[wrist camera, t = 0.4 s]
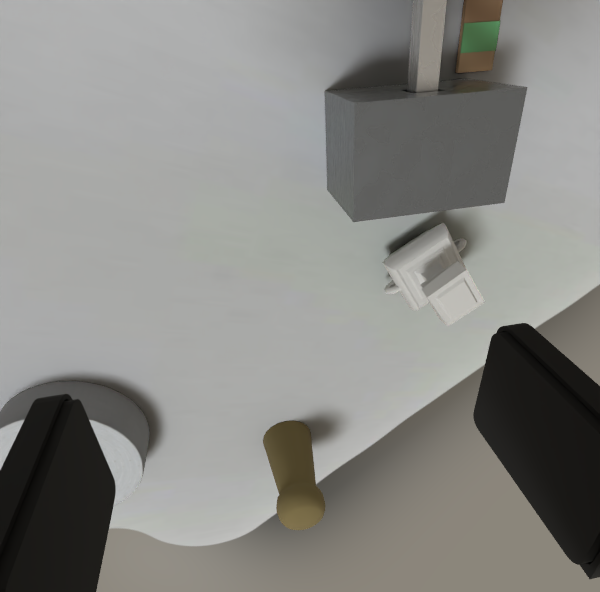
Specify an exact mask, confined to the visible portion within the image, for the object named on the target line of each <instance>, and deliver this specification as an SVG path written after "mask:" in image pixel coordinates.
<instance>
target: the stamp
mask: <svg viewBox="0 0 600 592" xmlns="http://www.w3.org/2000/svg"><path fill="white" fill-rule="evenodd" d="M466 243H467V241H466V240H465V239H463V238H461V239H457V240H455V241H453V240H452V237H451V235H450V233H449V231H448V229H447V227H446V225H445V224H444V223H441V224H439V225H437V226H435V227H434V228H432V229H430V230H427V231H425V232H424V233H422V234H421V235H419V236H418V237H416V238H415V239H413V240H411V241H410V242H408V243H407V244H405V245H404V246H402V247H401V248H399V249H398V250H396V251H395V252H393V253H392V254H390V255H389V257H387V258H386V259H385V260H384V261H383V262H382V263H383V264H384V266H385V268H386V269H387V271H388V273H389V274H390V276H391V277H392V279H393V280H392V281H391V282H390V283H389V284H388V285H387V286H386V287H385V292H386V293H387V294H394V293H396V292H399V291H400V292H401V294H402V296H403V297H404V299H405V300H406V302H407V304H408V305H409V307H410V308H411V309H412V310H414V311H417V310H418V309H420V308H422V307H423V306H425V305H426V304H428V303H430V304H431V306H432V308H433V309H434V311H435V312H436V314H437V316H438V317H439V319H440V320H441V321H442V322H443V323H444V324H446V325H447V326H449V325H451V324H452V323H454V322H456V321H457V320H459V319H460V318H462V317H463V316H465V315H466V314H468V313H469V312H471V311H473V310H474V309H476V308H477V307H479V306H480V305H482V304H483V303H485V301H484V299H483V297H482V295H481V294H480V292H479V290H478V288H477V286H476V285H475V283H474V281H473V279H472V277H471V276H470V274H469V272H468V270H467V269H466V267H465V265H464V263H463V261H462V259H461V257H460V254H459V253H460V252H461V250H463V249H464V248H465V246H466ZM395 285H396V286H395Z"/></svg>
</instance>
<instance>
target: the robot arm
mask: <svg viewBox="0 0 600 592" xmlns="http://www.w3.org/2000/svg"><path fill="white" fill-rule="evenodd" d="M474 421H475V424H476V426H477V428H478V430H479V431H480V433H481V434H482V435H483V437H484V438H485V440H486V441H487V443H488V444H489V445H490V447H491V448H492V450H493V451H494V453H495V454H496V455H497V457H498V458H499V460H500V461H501V462H502V464H503V465H504V467H505V468H506V470H507V471H508V473H509V474H510V475H511V477H512V478H513V480H514V481H515V483H516V484H517V485H518V487H519V488H520V490H521V491H522V493H523V494H524V495H525V497H526V498H527V500H528V501H529V503H530V504H531V505H532V507H533V508H534V510H535V511H536V513H537V514H538V515H539V517H540V518H541V520H542V521H543V522H544V524H545V525H546V527H547V528H548V530H549V531H550V533H551V534H552V535H553V537H554V538H555V540H556V541H557V542H558V544H559V545H560V547H561V548H562V549H563V551H564V552H565V554H566V555H567V557H568V558H569V559H570V560H571V561H572V562H573V563H575V564H579V565H580V566H581V567H582V569H583V570H584V572H585V573H586V574H587V576H588V577H589V579H592V578H597V577H600V386H599V385H598V384H597V383H595V382H594V381H593V380H592V379H591V378H590V377H589V376H587V375H586V374H585V373H584V372H583V371H582V370H580V369H579V368H578V367H577V366H576V365H575V364H574V363H573V362H571V361H570V360H569V359H568V358H567V357H566V356H565V355H564V354H562V353H561V352H560V351H559V350H558V349H557V348H556V347H554V346H553V345H552V344H551V343H550V342H549V341H548V340H546V339H545V338H544V337H543V336H542V335H541V334H539V333H538V332H537V331H536V330H535V329H534V328H533V327H532V326H530V325H529V324H526V323H521V324H514V325H508V326H502V327H500V328H499V329H498V331H497V333H496V334H494V335H493V336H492V338H491V342H490V346H489V350H488V355H487V359H486V363H485V367H484V371H483V376H482V380H481V384H480V388H479V393H478V396H477V401H476V405H475V409H474ZM115 494H116V486H115V480H114V477H113V475H112V472H111V470H110V468H109V465H108V463H107V461H106V458H105V456H104V454H103V451H102V449H101V447H100V444H99V442H98V440H97V437H96V435H95V433H94V430H93V428H92V426H91V423H90V421H89V419H88V416H87V414H86V412H85V409H84V407H83V405H82V403H81V401H80V400H79V399H75V400H73V399H72V398H71V396H70V395H69V394H61V395H55V396H48V397H42V398H37V399H36V400H35V401H34V402H33V404H32V405H31V407H30V410H29V412H28V414H27V416H26V418H25V420H24V422H23V424H22V426H21V428H20V430H19V432H18V434H17V437H16V439H15V441H14V443H13V445H12V447H11V449H10V451H9V453H8V455H7V457H6V459H5V461H4V463H3V466H2V468H1V470H0V592H96V589H97V584H98V579H99V574H100V569H101V564H102V559H103V555H104V550H105V545H106V540H107V534H108V530H109V525H110V520H111V515H112V510H113V505H114V500H115Z"/></svg>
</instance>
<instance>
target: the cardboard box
mask: <svg viewBox="0 0 600 592" xmlns="http://www.w3.org/2000/svg"><path fill="white" fill-rule="evenodd" d="M502 3H503V0H464V3H463V12H462V21H461V29H460V38H459V46H458V55H457V63H456V72H455V73H464V72H476V71H488V70H492V67H493V60H494V54H495V51H496V46H497V39H498V33H499V27H500V16H501V9H502Z"/></svg>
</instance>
